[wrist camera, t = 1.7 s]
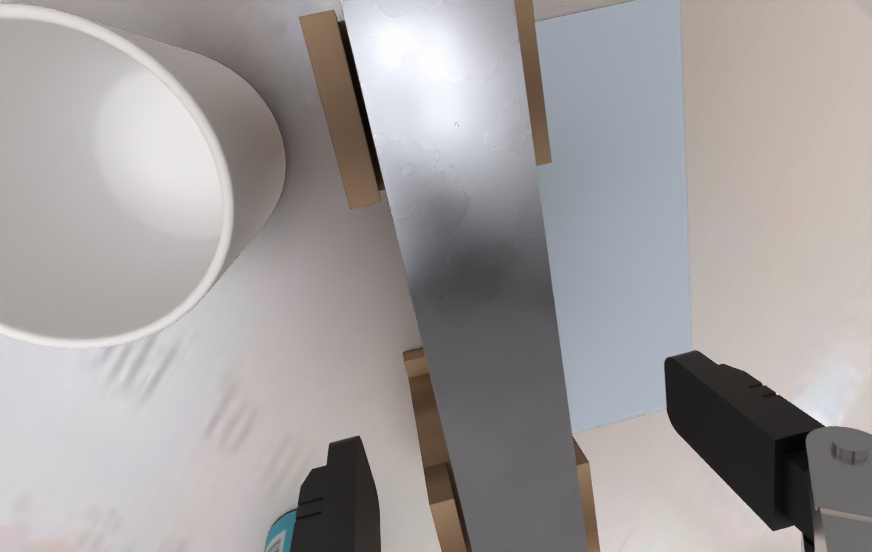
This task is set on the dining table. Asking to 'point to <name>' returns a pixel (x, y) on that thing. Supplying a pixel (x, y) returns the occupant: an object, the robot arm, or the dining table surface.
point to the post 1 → (349, 108)
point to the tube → (281, 534)
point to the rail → (475, 257)
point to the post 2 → (441, 473)
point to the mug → (120, 178)
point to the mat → (616, 204)
